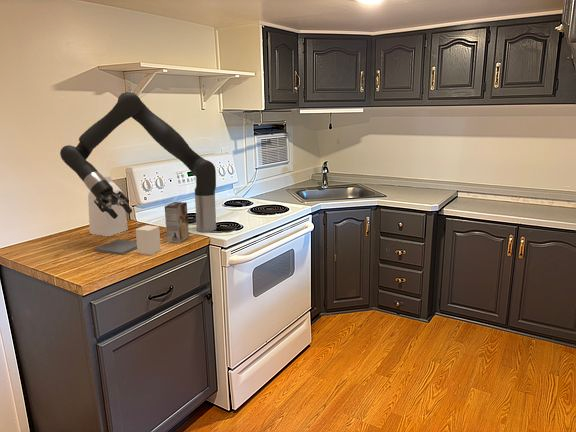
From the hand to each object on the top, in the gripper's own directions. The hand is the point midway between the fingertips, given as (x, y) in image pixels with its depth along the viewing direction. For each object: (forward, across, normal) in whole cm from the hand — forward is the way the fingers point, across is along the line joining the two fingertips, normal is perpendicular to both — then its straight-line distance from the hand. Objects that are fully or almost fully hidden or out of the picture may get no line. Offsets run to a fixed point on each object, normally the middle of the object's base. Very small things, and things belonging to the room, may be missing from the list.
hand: (123, 215), depth 179 cm
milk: (-7, +18, +28) cm, 33 cm away
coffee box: (+19, +18, +1) cm, 27 cm away
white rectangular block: (+18, 0, +2) cm, 18 cm away
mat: (+8, 0, +12) cm, 15 cm away
